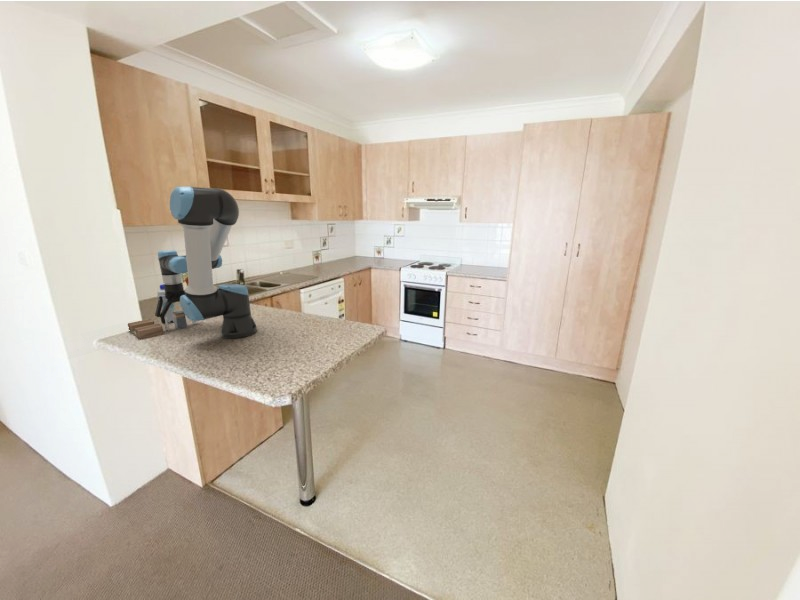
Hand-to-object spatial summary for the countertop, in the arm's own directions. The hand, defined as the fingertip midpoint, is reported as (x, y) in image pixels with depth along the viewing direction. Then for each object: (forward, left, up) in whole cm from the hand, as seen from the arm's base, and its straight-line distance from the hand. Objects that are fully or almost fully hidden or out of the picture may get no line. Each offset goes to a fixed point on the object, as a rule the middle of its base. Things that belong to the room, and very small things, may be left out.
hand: (181, 326), depth 161 cm
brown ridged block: (+5, +13, -1) cm, 14 cm away
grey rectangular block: (0, 0, -1) cm, 1 cm away
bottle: (+15, 0, -1) cm, 15 cm away
